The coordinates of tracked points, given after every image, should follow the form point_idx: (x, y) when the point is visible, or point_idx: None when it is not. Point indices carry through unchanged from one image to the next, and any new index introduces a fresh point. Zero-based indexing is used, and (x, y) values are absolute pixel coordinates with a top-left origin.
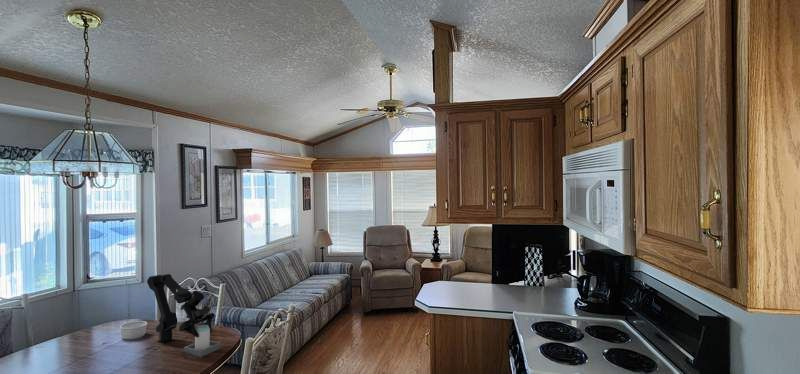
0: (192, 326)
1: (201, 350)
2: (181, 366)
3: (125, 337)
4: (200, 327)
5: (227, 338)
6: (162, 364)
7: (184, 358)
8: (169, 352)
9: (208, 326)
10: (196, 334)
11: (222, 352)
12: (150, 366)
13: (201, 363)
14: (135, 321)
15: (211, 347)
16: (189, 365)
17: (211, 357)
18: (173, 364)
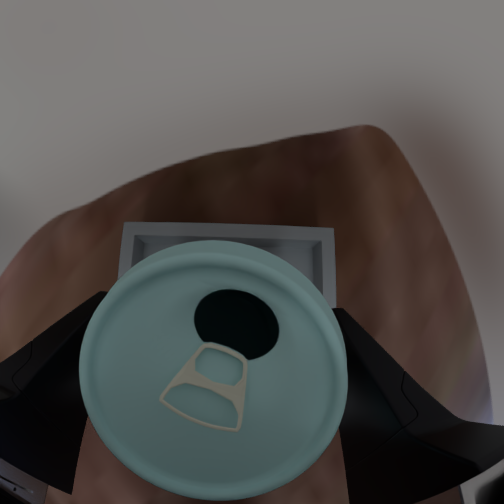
0: (476, 432)
1: (259, 308)
2: (441, 244)
3: None
4: (249, 421)
5: (10, 323)
6: (461, 360)
7: (378, 330)
8: (339, 489)
9: (118, 290)
10: (365, 339)
11: (193, 169)
12: (482, 384)
13: (372, 170)
14: None
15: (224, 224)
16: (417, 214)
17: (287, 175)
18: (447, 308)
